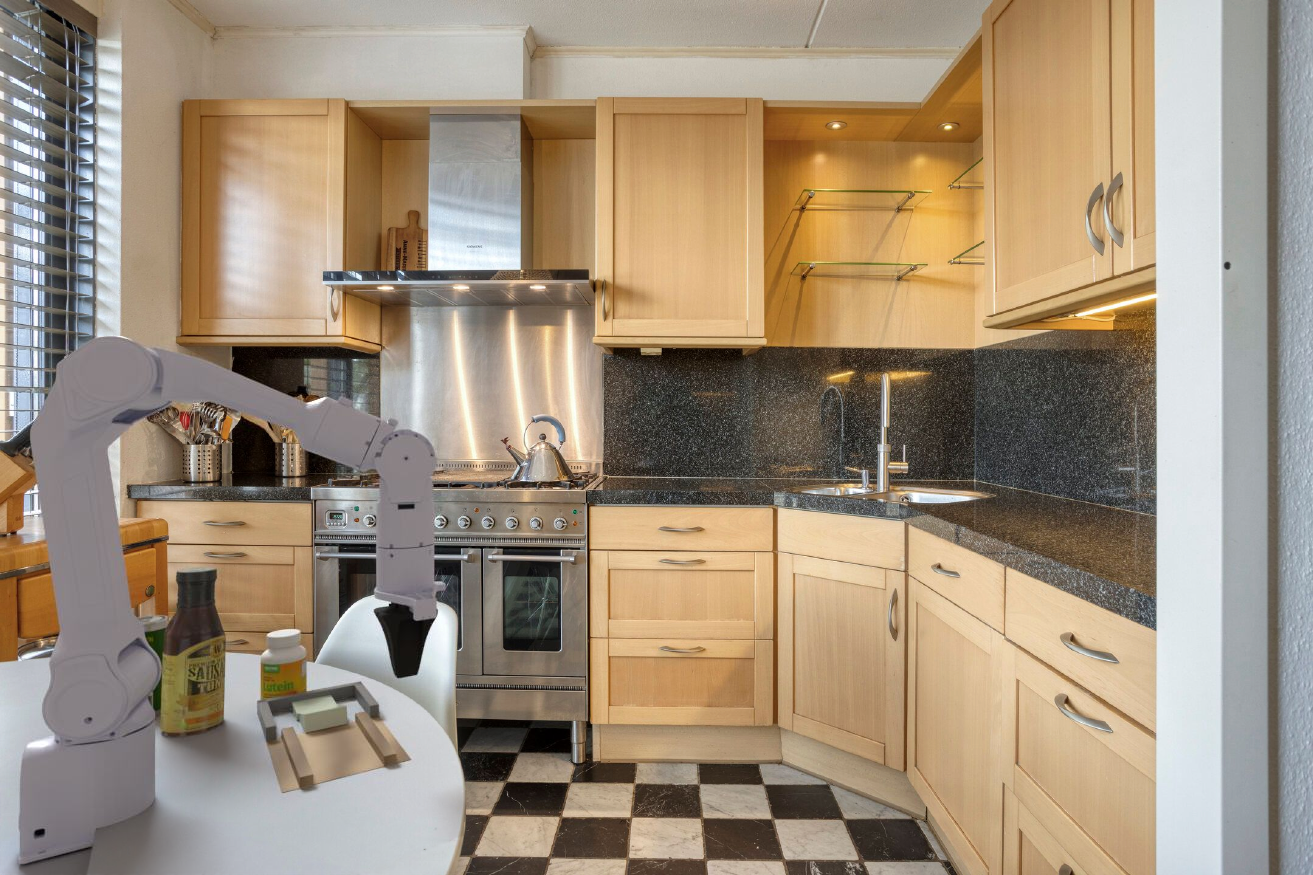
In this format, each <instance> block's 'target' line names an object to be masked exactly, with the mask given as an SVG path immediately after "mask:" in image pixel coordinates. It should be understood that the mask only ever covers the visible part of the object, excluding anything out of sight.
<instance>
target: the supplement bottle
mask: <svg viewBox="0 0 1313 875" xmlns="http://www.w3.org/2000/svg"><path fill="white" fill-rule="evenodd" d="M301 632H302V631H301V630H300V629H296V628H295V629H294V628H286V629H279V630H275V631H274V630H273V631H271V632H269V633H267V635H266V646H267V647H268V649H266V650H265V651H264V652H263V653H262V654H261V655H260V699H259V700H264V699H269V698H274V697H279V696H285V695H290V694H295V693H301V692H306V691H308V690H307V688H308V687H307V686H308V685H307V682H308V681H307V678H308V676H307V675H308V674H307V669H308V668H307V664H308V663H307V661H308V659H307V657H308V656H307V650H306V648H305V647H304V646H303V645H299V644H300V643H301V640H302V633H301Z"/></svg>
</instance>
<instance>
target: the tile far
mask: <svg viewBox="0 0 1313 875" xmlns="http://www.w3.org/2000/svg"><path fill="white" fill-rule="evenodd" d="M337 705H338V704H337V702H336V700H335V701H334V699H333V698H332V696H331V695H327V696H322V697H317V698H312V699H307V700H301V701H296V702H292V709H291V711H292V713H293V715H294V718H295V720H296V721H297V722H300V721H299V713H303V712H308V711H313V710H318V709H323V708H328V707H333V706H337Z"/></svg>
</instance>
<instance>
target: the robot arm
mask: <svg viewBox="0 0 1313 875" xmlns="http://www.w3.org/2000/svg"><path fill="white" fill-rule="evenodd" d="M55 372H56V373H55V382H54V383H53V385H52V387H51V388H50V391H49V393H48V395H47V396H46V399H45V400H44V402H43V404H42V406H41V408H40V409H39V411H38V413H37V416H36V417H35V418H34V419H35V420H34V421H33V423H32V425H31V428H30V430H29V431H30V433H29V441H30V447H31V448H30V449H31V454H32V459H33V465H34V473H35V477H36V478H35V479H36V484H37V490H38V491H37V492H38V496H39V503H40V504H39V505H40V511H41V518H42V523H43V530H44V536H45V543H46V547H47V553H48V554H47V555H48V560H49V568H50V573H51V580H52V586H53V593H54V598H55V600H54V601H55V605H56V613H57V619H58V625H59V634H58V638H57V640H56V642H55V645H54V647H53V650H52V652H51V655H50V659H49V663H48V665H49V671H50V681H49V682H50V683H49V686H48V689H47V691H46V693H45V695H44V697H43V701H42V705H41V714H42V719H43V721H44V723H45V724H46V726H47V727H48V729H49V730H50V731H51V732H52V733H53V734H52V735H49V736H46V737H43V738H39V739H33V740H30V741H28V742H26V743H25V746H24V749H23V753H22V757H21V764H20V765H21V766H20V777H19V813H18V831H19V857H18V859H17V860H18V861H17V862H18V864H19V865H25V864H29V863H32V862H36V861H40V860H44V859H48V858H52V857H55V856H60V855H63V854H67V853H71V852H75V851H79V850H83V849H86V848H90V847H93V844H94V840H95V834H96V832H97V831H96V830H97V829H100V828H104V827H109V826H112V825H116V824H117V823H121V822H123V821H127V820H128V819H131V818H133V817H135V816H137V815H139V814H141V813H142V812H144V811H145V810H147V809H148V808H149V807H150V806H151V805H152V804H154V802H155V800H156V716H155V711H154V709H153V708H152V706H151V705H150V703H149V700H148V695H149V694H150V693H151V692H152V691H153V690H154V689H155V687H156V686H157V684H158V682H159V680H160V677H161V672H162V667H161V661H160V659H159V657H158V655H157V653H156V652H155V651H154V650H153V649H152V648H151V647H150V646H149V644H148V643H147V640H146V638H145V633H144V627H143V625H142V624H141V622H140V621H139V620H138V619H137V616H136V615H135V614H134V613H133V612H134V611H133V609H132V602H131V596H130V589H129V583H128V582H129V581H128V577H127V576H128V575H127V569H126V563H125V562H126V561H125V557H124V556H125V555H124V550H123V543H122V538H121V531H120V525H119V524H120V523H119V518H118V517H119V516H118V510H117V504H116V499H115V497H116V496H115V491H114V485H113V479H112V477H113V476H112V472H111V466H110V465H111V464H110V458H109V453H108V452H109V451H108V449H109V447H110V446H111V445H112V444H113V443H115V441H116V440H118V438H120V437H121V436H122V435H123V434H124V433H125V432H126V431H127V430H129V429H130V428H131V427H132V426H133V425H134V424H136V422H137V423H138V422H139V421H141V420H144V418H147V417H150V416H152V415H154V414H156V413H158V412H160V411H162V410H164V409H166V408H168V407H169V406H171V405H172V404H173V403H179V404H183V405H184V404H185V405H189V404H190V405H192V404H201V403H208V402H211V403H214V404H217V405H220V406H224V407H225V408H229V409H231V410H235V411H237V412H240V413H243V414H245V415H248V416H252V417H255V418H257V419H259V420H262V421H265V422H267V423H270V424H274V425H277V426H279V427H283V428H285V429H288V430H290V431H293V432H294V434H295V436H296V438H297V440H298V444H299V446H300V447H301V449H302V450H304V451H307V452H310V453H312V454H315V455H318V456H321V457H323V458H326V459H329V460H331V461H334V462H335V463H338V464H339V463H340V464H342V465H345V466H347V467H350V468H353V469H356V470H357V471H358V470H359V471H360V472H362V473H363V472H366V471H369V470H376V472H377V474H378V475H379V478H378V479H379V480H378V483H379V484H378V485H379V487H378V488H379V489H378V490H379V491H378V493H379V495H378V496H379V497H378V499H377V501H376V505H375V508H376V509H375V511H376V512H375V514H376V520H375V521H376V523H375V524H376V525H375V526H376V527H375V528H376V529H375V530H376V534H375V535H376V538H375V539H376V541H375V543H376V546H375V552H376V553H375V554H376V556H375V557H376V558H375V562H376V563H375V564H376V566H375V567H376V568H375V569H376V570H375V571H376V573H375V574H376V575H375V576H376V577H375V578H376V585H375V587H374V589H373V592H374V594H373V595H374V598H375V599H377V600H380V601H384V602H389V603H388V605H387V606H386V605H385V606H380V607H375V608H374V609H373V613H374V615H375V616H376V619H377V620H378V622H379V625H380V627H381V629H382V632H383V635H384V638H385V641H386V645H387V650H388V655H389V661H390V664H391V669H392V672H393V674H394V676H395V677H396V679H403V678H408V677H413V676H417V675H418V674H419V670H420V666H421V663H422V659H423V654H424V649H425V646H426V642H427V637H428V635H429V632H430V630H431V628H432V627H433V624H434V622H435V621H436V619H437V617H438V614H439V609H438V606H437V598H436V594H437V592H441V591H446V590H447V589H446V587H447V586H446V583H445V582H443V581H442V580H441V581H438V580H437V581H435V501H434V499H433V497H432V495H433V494H434V493H433V492H434V483H433V481H432V475H433V473H435V471H436V468H437V464H438V457H437V456H436V451H435V449H434V446H433V444H432V443H431V442H430V441H429V439H428V438H427V437H426V436H424V435H423V434H422V433H420V432H417V431H414V430H411V429H406V428H404V429H397V427H398V424H399V420H398V419H395V418H392V417H388V420H386V419H382V418H380V417H378V416H375V415H373V414H370V413H368V412H366V411H363V410H362V409H361V410H360V409H359V408H355V407H353V406H352V405H353V404H354V402H353V400H352V399H349V398H348V397H344V396H339V398H337V399H338V400H336V399H334V398H332V397H329V396H324V397H321V398H319V399H316V400H313V401H309V402H305V401H302V400H300V399H298V398H297V397H293V396H291V395H288V394H286V393H284V392H282V391H279V390H276V389H274V388H271V387H269V386H267V385H265V384H263V383H261V382H258V381H256V380H253V379H251V378H248V377H246V376H244V375H242V374H239V373H237V372H234V371H232V370H230V369H227V368H225V367H223V366H220V365H218V364H215V363H213V362H211V361H209V360H205V359H202V358H198V357H196V356H192V355H188V354H184V353H181V352H177V351H173V350H170V349H166V348H163V347H157V346H153V345H152V346H151V348H149V347H146V346H145V345H142V344H141V343H140V342H137V341H136V340H134V339H131V338H129V337H125V336H119V335H104V336H99V337H95V338H93V339H91V340H88V341H86V342H84V343H83V344H82V345H80V346H79V347H78V348H76V349H75V350H74V351H72V352H71V353H69V354H68V355H66V356H65V357H64V358H63V359H62V360H60V361H59V362H58V363H56V370H55Z"/></svg>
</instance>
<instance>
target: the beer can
mask: <svg viewBox="0 0 1313 875" xmlns="http://www.w3.org/2000/svg"><path fill="white" fill-rule="evenodd" d="M136 617H137V616H136ZM137 619H138V620H139V621H140V622H141V624H142V625H143V627H144V633H145V638H146V640H147V643H148V644H149V646H150V647H151V648H152V649H153V650H154V651H155V652H156V653H157V655H158V657H159V659H160V661H161V667H162V662H163V651H164V634H165V630H166V627H167V625H168V624H169V620H168V619H169V616H168V615H161V614H160V615H159V614H154V615H144V616H138V617H137ZM161 695H162V672H161V677H160V680H159V682H158V684H157V686H156V687H155V689H154V690H153V691H152V692H151V693H150V694H149V695H148V700H149V703H150V705H151V706H152V708H153V709H154V711H155V717H157V716H159V715H160V716H161Z"/></svg>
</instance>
